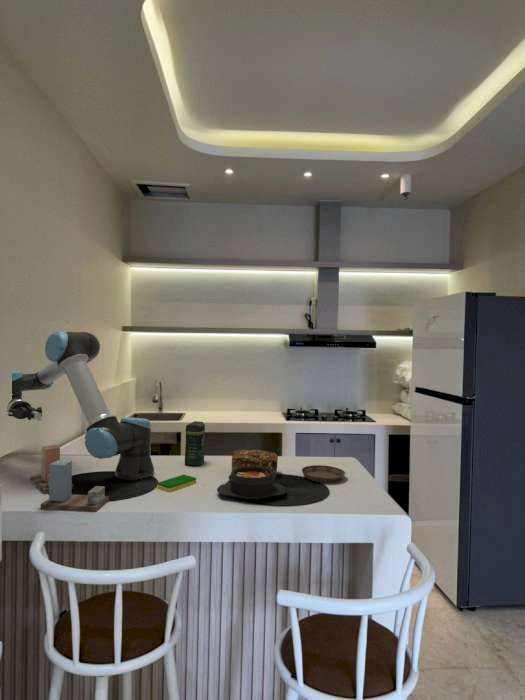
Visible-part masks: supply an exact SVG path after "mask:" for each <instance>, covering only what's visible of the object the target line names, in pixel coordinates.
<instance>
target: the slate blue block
mask: <svg viewBox="0 0 525 700" xmlns="http://www.w3.org/2000/svg"><path fill="white" fill-rule="evenodd" d="M72 466H73V461H72V460H61V459H60V460H57V461H55V462H53V463H51V464H50V468H49V493H48V499H49V501H63V502H64V501H65V500H67V499H68V498H70V497H71V494H73V493H72V492H73V491H72V489H73V488H72V483H73V482H72V481H73V480H72V479H73V476H72V474H73V471H72V470H73V467H72Z"/></svg>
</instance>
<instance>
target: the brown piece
mask: <svg viewBox="0 0 525 700" xmlns="http://www.w3.org/2000/svg"><path fill="white" fill-rule="evenodd" d="M41 477H42V474H39V475H31V476H30V477H29V479H30V480H31V481H32V482H33V483H34V484H35V485H36V486H37V487H36V486H35V487H36V488H37V489H39V490H40V491H41V492H42V494H44V495H45V494H46V495H47V494H49V475H47V482H45V481H44V480H43V479H42V478H41ZM31 481H30V482H31ZM32 482H31V483H32ZM33 483H32V484H33ZM34 484H33V485H34ZM74 486H75V485H74V483H73V482H72V487H74Z"/></svg>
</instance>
